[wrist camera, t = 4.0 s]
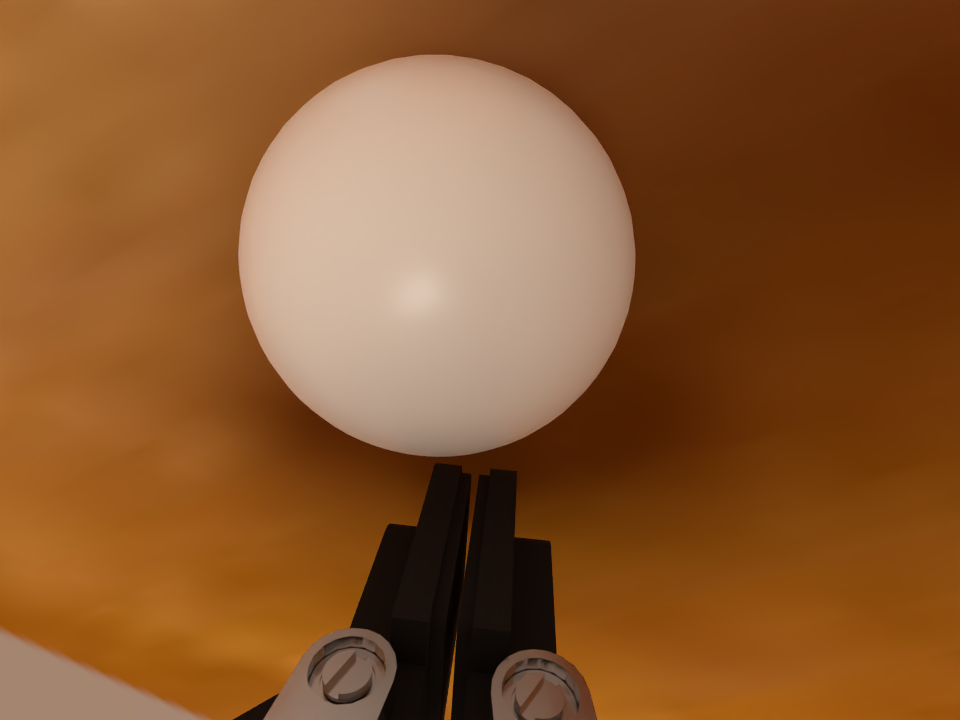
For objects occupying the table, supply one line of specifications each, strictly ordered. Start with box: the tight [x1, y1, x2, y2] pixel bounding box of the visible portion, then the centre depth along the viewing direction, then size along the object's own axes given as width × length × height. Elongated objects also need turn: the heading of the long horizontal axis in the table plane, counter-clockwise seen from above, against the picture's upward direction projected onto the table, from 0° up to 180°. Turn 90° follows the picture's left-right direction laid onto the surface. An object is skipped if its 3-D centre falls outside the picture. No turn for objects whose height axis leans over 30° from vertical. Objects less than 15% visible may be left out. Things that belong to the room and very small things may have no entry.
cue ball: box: [238, 55, 636, 457], centre depth 8 cm, size 6×6×6 cm
